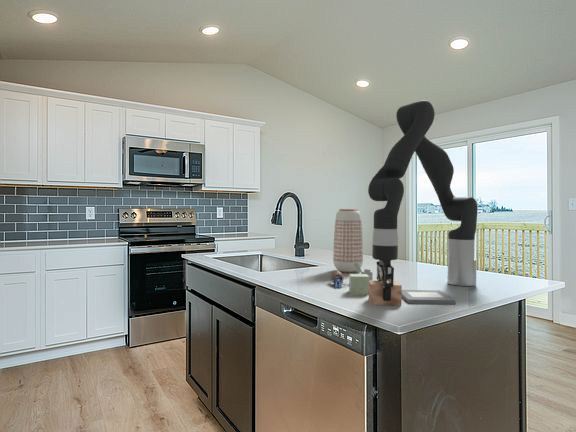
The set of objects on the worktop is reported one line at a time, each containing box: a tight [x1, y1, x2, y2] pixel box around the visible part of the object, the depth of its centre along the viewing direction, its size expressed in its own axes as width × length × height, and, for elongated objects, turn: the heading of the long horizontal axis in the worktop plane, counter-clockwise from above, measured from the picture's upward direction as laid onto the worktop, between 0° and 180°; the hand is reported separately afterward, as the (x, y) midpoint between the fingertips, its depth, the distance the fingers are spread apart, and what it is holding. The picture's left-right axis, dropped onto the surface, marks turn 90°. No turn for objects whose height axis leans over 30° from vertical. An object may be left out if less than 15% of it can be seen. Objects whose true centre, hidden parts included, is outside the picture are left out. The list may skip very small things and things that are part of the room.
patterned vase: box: [332, 208, 364, 274], centre depth 175 cm, size 13×13×28 cm
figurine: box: [330, 270, 346, 289], centre depth 144 cm, size 6×5×12 cm
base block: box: [368, 280, 403, 307], centre depth 118 cm, size 9×6×6 cm
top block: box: [348, 273, 369, 295], centre depth 132 cm, size 6×5×6 cm
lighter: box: [354, 262, 374, 281], centre depth 149 cm, size 7×2×8 cm, turn 74°
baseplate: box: [401, 289, 457, 305], centre depth 124 cm, size 14×14×1 cm
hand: (384, 297), depth 118 cm, fingers closed on base block, 6 cm apart
